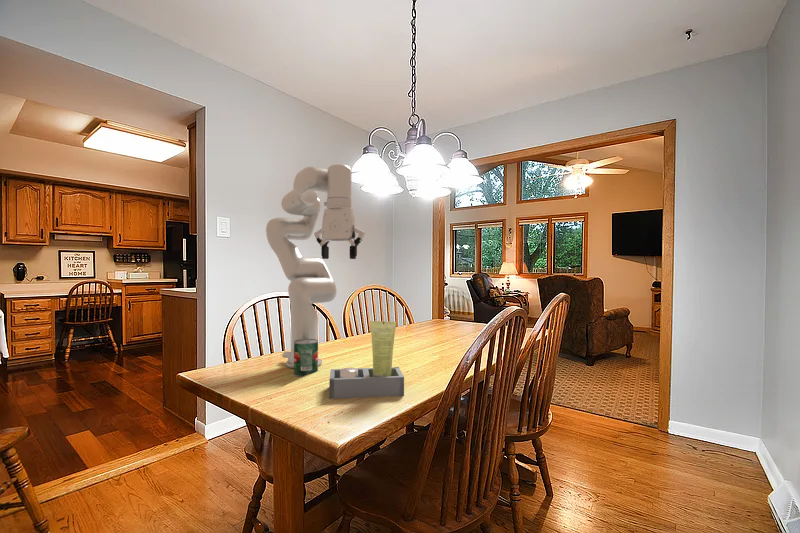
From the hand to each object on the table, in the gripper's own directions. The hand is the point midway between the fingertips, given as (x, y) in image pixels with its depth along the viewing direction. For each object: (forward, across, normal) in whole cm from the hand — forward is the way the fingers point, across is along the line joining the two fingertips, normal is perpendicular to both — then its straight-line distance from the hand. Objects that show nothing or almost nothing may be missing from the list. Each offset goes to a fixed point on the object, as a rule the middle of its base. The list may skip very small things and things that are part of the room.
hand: (338, 258), depth 122 cm
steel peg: (+37, +10, -12) cm, 40 cm away
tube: (+38, +18, -8) cm, 42 cm away
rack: (+38, +14, -10) cm, 42 cm away
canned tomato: (+38, -13, +2) cm, 41 cm away
